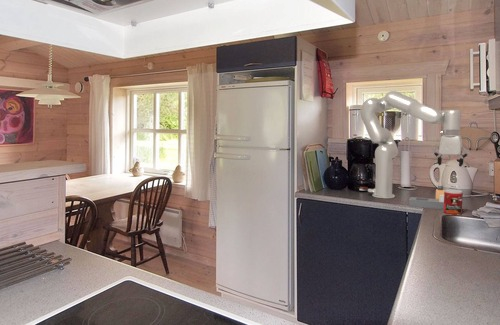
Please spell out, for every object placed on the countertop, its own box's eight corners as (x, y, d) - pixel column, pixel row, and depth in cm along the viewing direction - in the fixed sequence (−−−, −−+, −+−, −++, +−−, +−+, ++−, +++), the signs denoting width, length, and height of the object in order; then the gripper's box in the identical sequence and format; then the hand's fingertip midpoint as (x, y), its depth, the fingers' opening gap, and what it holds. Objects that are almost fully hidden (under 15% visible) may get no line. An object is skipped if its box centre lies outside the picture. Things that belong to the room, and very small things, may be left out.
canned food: (444, 214, 163) (445, 191, 162) (442, 210, 170) (443, 188, 169) (463, 215, 160) (464, 192, 159) (460, 211, 167) (461, 189, 166)
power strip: (408, 206, 180) (409, 194, 180) (410, 203, 187) (410, 191, 187) (452, 210, 170) (453, 197, 170) (452, 207, 177) (453, 194, 176)
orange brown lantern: (435, 204, 183) (436, 186, 182) (435, 203, 186) (436, 185, 185) (443, 205, 181) (444, 187, 180) (444, 204, 184) (444, 185, 183)
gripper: (431, 133, 182) (430, 165, 184) (469, 133, 171) (467, 167, 173) (435, 133, 188) (434, 164, 190) (472, 133, 176) (470, 166, 178)
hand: (450, 165), depth 181 cm, fingers open, 9 cm apart
